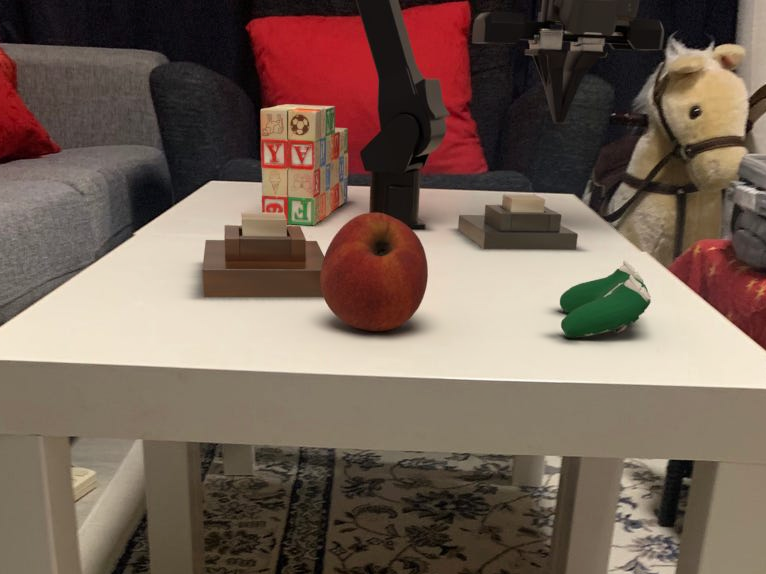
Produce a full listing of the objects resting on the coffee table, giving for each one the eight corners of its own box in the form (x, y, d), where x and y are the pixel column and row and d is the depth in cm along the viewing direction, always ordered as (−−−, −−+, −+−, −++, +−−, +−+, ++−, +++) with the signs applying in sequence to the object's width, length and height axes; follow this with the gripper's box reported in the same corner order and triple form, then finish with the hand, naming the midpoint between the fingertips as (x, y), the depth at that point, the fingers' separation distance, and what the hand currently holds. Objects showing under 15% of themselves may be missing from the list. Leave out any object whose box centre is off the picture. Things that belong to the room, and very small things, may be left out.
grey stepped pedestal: (457, 230, 107) (459, 198, 106) (541, 231, 109) (544, 199, 107) (483, 249, 97) (486, 214, 95) (576, 250, 98) (580, 215, 97)
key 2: (501, 210, 101) (502, 194, 100) (533, 211, 102) (535, 194, 101) (510, 215, 98) (511, 198, 97) (543, 216, 98) (545, 199, 98)
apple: (314, 340, 63) (314, 218, 60) (326, 312, 70) (327, 202, 67) (424, 345, 63) (430, 223, 59) (425, 317, 70) (431, 206, 66)
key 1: (241, 233, 80) (241, 212, 79) (284, 233, 80) (284, 212, 79) (242, 240, 76) (242, 218, 76) (286, 241, 77) (286, 219, 76)
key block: (206, 264, 85) (204, 219, 83) (316, 265, 86) (317, 220, 85) (203, 297, 73) (201, 245, 71) (330, 297, 75) (331, 246, 73)
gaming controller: (590, 367, 66) (662, 312, 63) (556, 326, 65) (628, 269, 63) (585, 333, 74) (649, 284, 72) (555, 297, 73) (618, 246, 71)
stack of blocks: (302, 199, 127) (302, 100, 121) (348, 201, 126) (350, 103, 121) (261, 222, 107) (259, 107, 102) (314, 225, 107) (315, 109, 101)
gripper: (506, -61, 84) (492, 125, 91) (700, -49, 87) (673, 130, 93) (476, -48, 94) (465, 118, 101) (651, -38, 97) (630, 123, 103)
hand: (558, 123), depth 99 cm, fingers closed
